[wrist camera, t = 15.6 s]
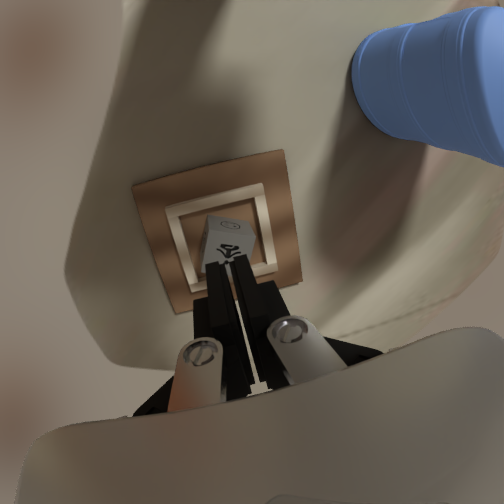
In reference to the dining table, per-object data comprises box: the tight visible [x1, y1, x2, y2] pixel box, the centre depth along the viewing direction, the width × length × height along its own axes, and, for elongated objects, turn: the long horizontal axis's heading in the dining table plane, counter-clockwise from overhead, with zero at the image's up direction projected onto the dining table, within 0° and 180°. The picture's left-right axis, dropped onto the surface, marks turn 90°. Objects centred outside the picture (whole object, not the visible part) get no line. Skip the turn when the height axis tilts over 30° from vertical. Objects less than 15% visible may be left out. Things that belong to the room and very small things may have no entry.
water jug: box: [352, 6, 504, 167], centre depth 20 cm, size 16×16×28 cm
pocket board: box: [131, 149, 303, 313], centre depth 37 cm, size 18×18×2 cm
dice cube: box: [200, 214, 256, 276], centre depth 35 cm, size 5×5×5 cm
